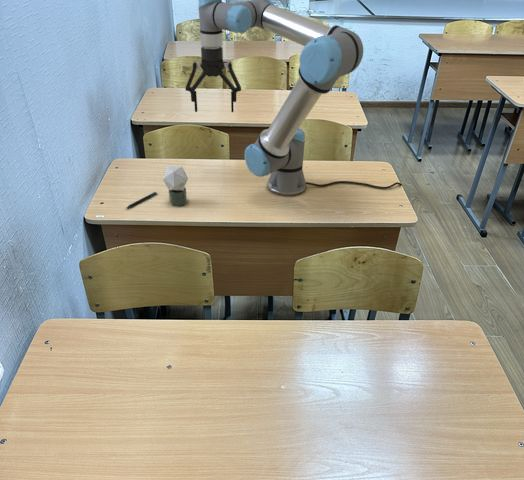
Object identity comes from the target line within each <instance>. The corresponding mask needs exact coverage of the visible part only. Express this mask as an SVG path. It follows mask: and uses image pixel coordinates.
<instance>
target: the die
mask: <svg viewBox="0 0 524 480" xmlns="http://www.w3.org/2000/svg"><path fill="white" fill-rule="evenodd" d="M188 179H189V177H188V176H187V173H186V171H185V169H184V167H183V166H180V165H179V166H177V165H175V166H174V165H172V166H171V165H167V166H166V170H165V172H164V175H163V177H162V180H163V183H164V184H165V186H166V188H167V190H168V192H169V191H183V190H184V188H186V185H187V182H188Z"/></svg>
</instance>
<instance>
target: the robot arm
mask: <svg viewBox="0 0 524 480" xmlns="http://www.w3.org/2000/svg"><path fill="white" fill-rule="evenodd" d="M198 19H199V39H200V46H201V47H200V57H201V62H198V61H196V60H193V61H192V69H191V72H190V75H189V77H188V80H187V82H186V84H185V90H184V91H186V92H189V93H190V101H191V103H194V112H195V113H197V112H198V98H197V96H198V95H197V88H198V87H199V85H200V84H201V82H202V81H203V80H204V78H206V76H207V77H208V78H209V77H210V78H211V77H216V78H218V77H220V78H221V79H222V80H223V81H224V83H225V84H226V85H227V87H228V88H229V89H230V90H231V91H230V106H231V113H234V103H236V102H237V93H238V92H241V91H242V86H241V83H240V81H239V80H238V77H237V75H236V73H235V71H234V68H233V63H232V61H229V60H228V62H224V53H223V49H224V48H223V47H222V46H223V30H224V31H227V32H228V31H229V32H232V33H235V34H245V33H247V31H248V30H250V29H252V28H255V27H257V28H259V29H262V30H265V31H267V32H269V33H272V34H275V35H276V36H279V37H282V38H284V39H286V40H289V41H290V42H291V41H292V42H294V43H296V44H298V45H301V46H304V47H303V48H302V50H301V52H300V55H299V58H298V59H299V66H298V69H297V74H298V79H297V81H296V82H295V83H294V85H293V87H292V89H291V91H290V92H289V94H288V95H287V97H286V99H285V100H284V103H283V104H282V106H281V107H280V109H279V111H278V112H277V114H276V115H275V116H274V119H273V120H272V122H271V124H270V126H269V128H266V129H263V130H262V131H261V132H260V134H259V136H258V137H257V139H256V141H255V142H254V143H251V144H249V145H247V146H246V147H245V150H244V161H245V164H246V167H247V169H248V171H249V172H250V173H251V174H253V176H256V177H259V178H264V177H266V176H269V177H268V180H267V190H269V191H270V192H271V193H273V194H275V195H278V196H285V197H286V196H287V197H288V196H289V197H291V196H298V195H301V194H302V193H304V192H305V191H306V186H307V185H309V186H314V187H319V188H320V187H328V186H331V185H335V184H352V185H360V186H366V187H370V188H374V189H380V190H387V189H390V188H393V187H395V186H397V185H398V186H400V187H403V184H402V182H399V181H397V182H394V183H392V184H390V185H387V186H380V185H374V184H371V183H366V182H358V181H353V180H351V181H350V180H337V181H332V182H328V183H324V184H323V183H322V184H318V183H314V182H308V181H306V179H305V174H304V171H303V170H304V169H303V165H304V155H305V154H304V153H305V143H306V134H305V132H304V130H303V129H301V128H300V127H301V126H302V124H303V123H304V122H305V120H306V118H307V117H308V115H309V114H310V112H311V110H312V109H313V108H314V106H315V105H316V104H317V102H318V101H319V99H320V97H321V95H327V94H329V92H330V91H331V90H332V88H333V86H334V85H335V84H336V82H337V81H338V80H339V78H340V77H343V76H346V75H349V74H350V73H352V72H354V71H355V70H356V69H357V68H358V67H359V66H360V64H361V63H362V60H363V56H364V44H363V41H362V39H361V37H360V36H359V35H358V34H357V33H356V32H355V31H353V30H351V29H349V28H346V27H343V26H340V25H337V24H335V25H332V26H329V25H326V24H324V23H321V22H319V21H317V20H316V21H315V20H313V19H312V18H311V19H310V18H309V17H305V16H303V15H301V14H299V13H298V14H297V13H295V12H292V11H289V10H287V9H285V8H282V7H280V6H277V5H275V4H274V3H273V1H272V0H246V1H240V2H234V3H229V2H224V1H222V0H198ZM199 68H201V70H202V72H201V73H200V75H199V76H198V78H197V79H196V80H195V82H194V83H192V82H193V79H194V77H195V75H196V72H197V70H199ZM225 68H226V70H228V72H229V74H230V76H231V78H232V80H233V82H232V81H231V80H230V79H229V78H228V76H227V75H226V74H225V72H224V71H223V70H224V69H225ZM233 83H234V84H233ZM192 84H193V85H192ZM191 85H192V86H191ZM234 85H235V86H234Z"/></svg>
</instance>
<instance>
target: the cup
mask: <svg viewBox="0 0 524 480" xmlns="http://www.w3.org/2000/svg"><path fill="white" fill-rule="evenodd" d="M187 195H188V194H187V188H186V187H185V188H184V190H183V191H169V190H168V197H169V198H168V199H169V203H170V204H171V205H172V206H173V207H183V206H185V205H186V204H187V202H188V196H187Z"/></svg>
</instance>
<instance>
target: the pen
mask: <svg viewBox="0 0 524 480" xmlns="http://www.w3.org/2000/svg"><path fill="white" fill-rule="evenodd" d="M157 193H158V192H156V191H154V192H152V193H150V194H148V195H146V196H144V197H142V198H141V199H139V200H136V201H135V202H133V203H131V204H129V205H128V206H126V209H131V208H133V207H135V206H137V205H139V204H140V203H143V202H144V201H146V200H148V199H150V198H152V197H154V196H156V195H157Z"/></svg>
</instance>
